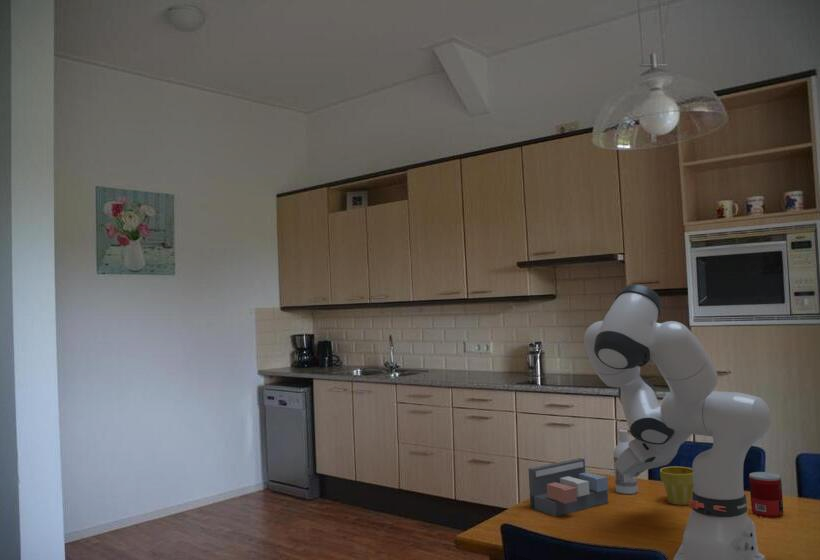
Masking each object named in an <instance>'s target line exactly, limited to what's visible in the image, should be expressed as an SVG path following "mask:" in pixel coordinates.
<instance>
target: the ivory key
mask: <svg viewBox="0 0 820 560" xmlns="http://www.w3.org/2000/svg"><path fill="white" fill-rule="evenodd" d="M560 484H564V485H567V486H571V487H575V488H576V491H577V496H578V497H580V496H584V495H588V494H590V493H589V481H585V480H581V479H577V478H573V477H569V476H567V477H563V478H560Z"/></svg>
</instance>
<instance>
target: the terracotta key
mask: <svg viewBox="0 0 820 560" xmlns="http://www.w3.org/2000/svg"><path fill="white" fill-rule="evenodd" d="M547 498H550V499H553V500H556V501H559V502H563V503H565V504H567V503H571V502H575V501H577V491H576V488H575V487H571V486H567V485H564V484H560V483H556V482H554V483H550V484H547Z"/></svg>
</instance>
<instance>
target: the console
mask: <svg viewBox="0 0 820 560" xmlns="http://www.w3.org/2000/svg"><path fill="white" fill-rule="evenodd" d="M585 459H586V458H582V457H579V458H575V459H574V458H573V459H570V460H564V461H560V462H559V461H558V462H555V463H550V464H545V465H540V466H539V465H538V466H534V467H530V468H528V485H529V501H530V503H529V505H530V506H529V507H530V509H532V510H535V511H539V512H541V513H544V514H547V515H549V516H553V517H555V518H556V517H561V516H563V515H567V514H570V513H571V514H572V513H574V512H579V511H583V510H586V509H590V508H594V507H598V506H601V505H605V504H609V496H608V495H609V494H608V492H609V491H608V490H609V489H608V490H604V491H600V492H595V491H593V490H589V493H590V494H588V495H584V496H580V497H578V496H577V501H575V502H571V503H567V504H565V503H563V502H559V501H556V500H553V499H550V498H547V484H550V483H554V482H556V483H560V478H563V477H567V476H569V477H573V478H577V479H579V476H578V474H581V473H585V472H586V460H585Z"/></svg>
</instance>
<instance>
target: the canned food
mask: <svg viewBox="0 0 820 560" xmlns="http://www.w3.org/2000/svg"><path fill="white" fill-rule="evenodd" d="M748 478H749V480H748V481H749V491H750V492H749V493H750V503H751V504H750V505H751V511H752V514H753V515H755V516H757V517H760V516H761V518H765V517H768V518H767V519H777V518H776V517H779V518H781V516H782V517H783V515H784V501H783V487H782V477H781V475H780V474H778V473H774V472H769V471H768V472H766V471H755V472H753V471H752V472H750V473H749V476H748Z"/></svg>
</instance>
